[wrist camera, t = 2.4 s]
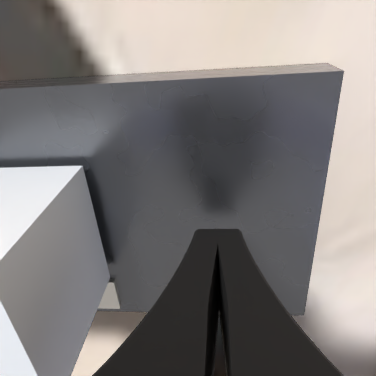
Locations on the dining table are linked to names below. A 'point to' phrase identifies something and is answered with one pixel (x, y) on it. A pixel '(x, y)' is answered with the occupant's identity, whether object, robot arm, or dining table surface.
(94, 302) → the white rectangular block
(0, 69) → the dining table surface
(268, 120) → the gauge base
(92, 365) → the dining table surface
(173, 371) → the robot arm
